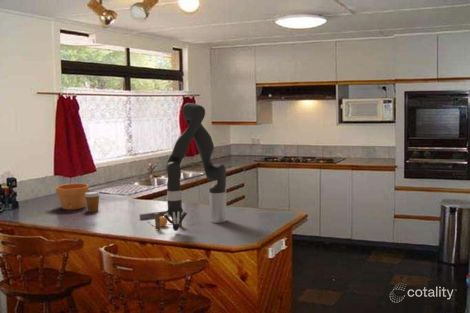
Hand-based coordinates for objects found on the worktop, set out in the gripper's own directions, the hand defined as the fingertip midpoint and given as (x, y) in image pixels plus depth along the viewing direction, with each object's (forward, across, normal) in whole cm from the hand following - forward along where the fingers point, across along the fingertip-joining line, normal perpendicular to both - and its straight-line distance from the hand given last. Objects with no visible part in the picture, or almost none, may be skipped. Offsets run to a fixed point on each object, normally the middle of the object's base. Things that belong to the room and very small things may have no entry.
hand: (175, 230), depth 287 cm
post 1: (+2, +6, -13) cm, 15 cm away
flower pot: (+2, +40, -101) cm, 109 cm away
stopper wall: (+2, 0, -42) cm, 42 cm away
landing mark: (+2, 0, -27) cm, 27 cm away
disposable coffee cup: (+2, +30, -83) cm, 88 cm away
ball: (-1, +2, -19) cm, 19 cm away
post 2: (+2, -6, -13) cm, 15 cm away
